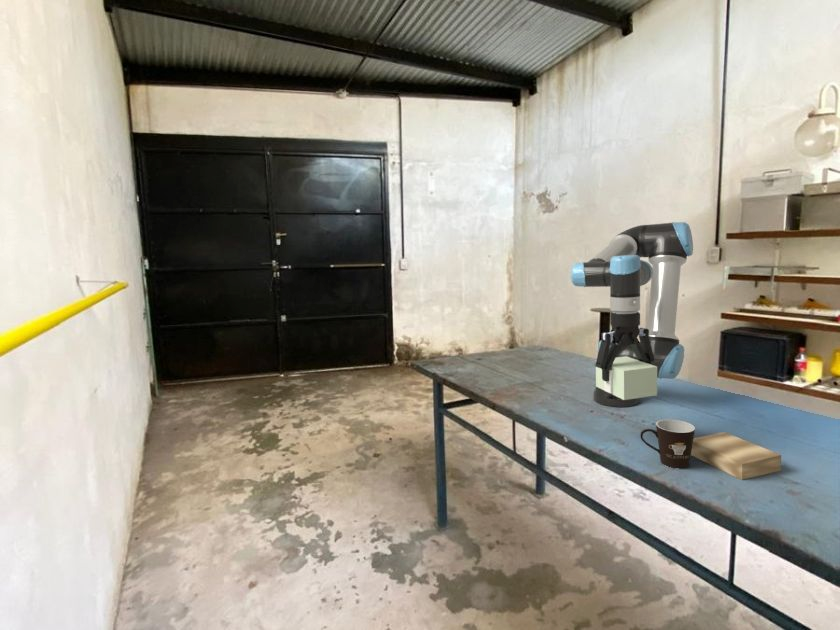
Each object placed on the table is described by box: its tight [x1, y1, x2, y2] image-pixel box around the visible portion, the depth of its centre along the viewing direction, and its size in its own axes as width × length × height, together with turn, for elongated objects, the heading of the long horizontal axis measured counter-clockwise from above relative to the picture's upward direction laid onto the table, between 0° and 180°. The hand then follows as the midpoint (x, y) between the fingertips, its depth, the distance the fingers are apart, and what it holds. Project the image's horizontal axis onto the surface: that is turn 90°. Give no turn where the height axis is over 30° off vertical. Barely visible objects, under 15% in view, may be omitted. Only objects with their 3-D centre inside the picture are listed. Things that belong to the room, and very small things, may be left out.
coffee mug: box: [639, 419, 696, 470], centre depth 115 cm, size 12×9×10 cm
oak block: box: [691, 431, 782, 481], centre depth 114 cm, size 15×12×4 cm
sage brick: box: [595, 356, 658, 400], centre depth 126 cm, size 13×10×8 cm
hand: (625, 389), depth 127 cm, fingers closed on sage brick, 10 cm apart
